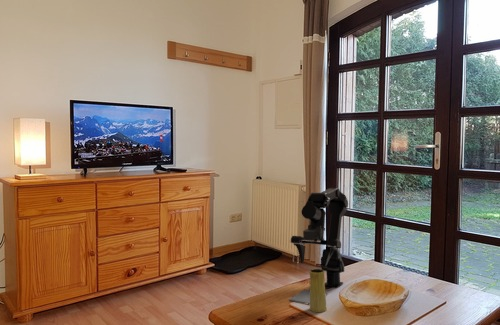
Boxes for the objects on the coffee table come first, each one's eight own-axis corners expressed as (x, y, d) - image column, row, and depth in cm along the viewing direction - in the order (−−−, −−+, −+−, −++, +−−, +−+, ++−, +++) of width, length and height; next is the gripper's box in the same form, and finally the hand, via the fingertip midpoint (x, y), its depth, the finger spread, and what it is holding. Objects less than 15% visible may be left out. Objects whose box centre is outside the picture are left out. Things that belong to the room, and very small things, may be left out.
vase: (326, 313, 142) (325, 273, 141) (309, 312, 143) (307, 272, 143) (326, 306, 148) (325, 268, 147) (310, 305, 149) (308, 268, 149)
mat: (304, 290, 166) (304, 289, 166) (326, 294, 160) (326, 293, 160) (289, 300, 155) (289, 299, 155) (312, 305, 149) (312, 303, 149)
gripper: (287, 218, 153) (282, 260, 149) (334, 221, 144) (330, 265, 140) (297, 224, 163) (293, 263, 158) (342, 226, 154) (339, 268, 149)
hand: (313, 264), depth 151 cm, fingers open, 9 cm apart
